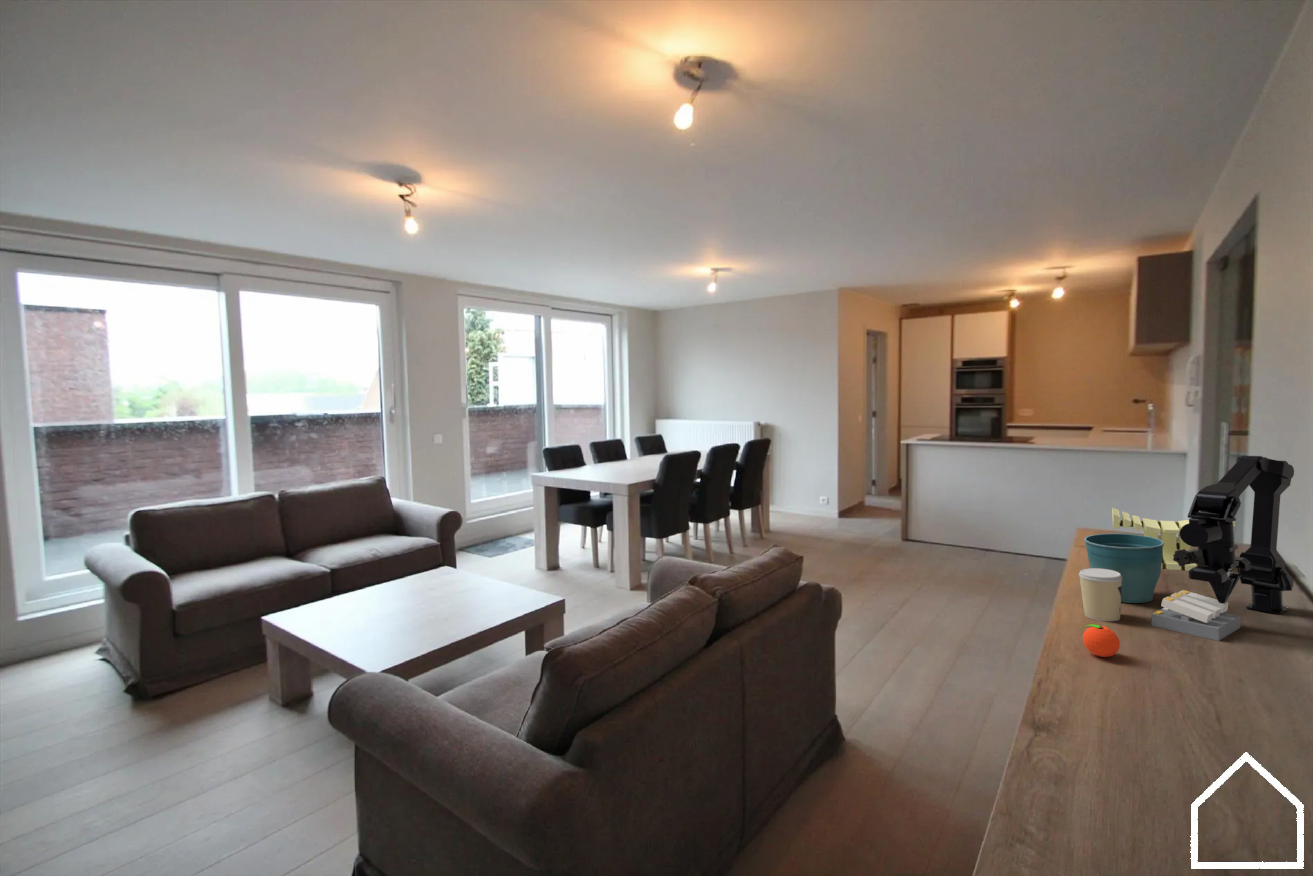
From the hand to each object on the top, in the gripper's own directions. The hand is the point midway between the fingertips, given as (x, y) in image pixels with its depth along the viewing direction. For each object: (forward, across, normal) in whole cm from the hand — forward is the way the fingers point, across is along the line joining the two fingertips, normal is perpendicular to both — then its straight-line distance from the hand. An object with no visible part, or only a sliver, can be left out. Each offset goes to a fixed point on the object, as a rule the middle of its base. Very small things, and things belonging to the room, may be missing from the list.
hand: (1222, 602), depth 147 cm
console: (+6, +4, -4) cm, 8 cm away
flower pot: (+6, -8, -24) cm, 26 cm away
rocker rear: (0, 0, -4) cm, 4 cm away
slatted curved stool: (+5, -54, -30) cm, 62 cm away
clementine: (+6, +38, -10) cm, 40 cm away
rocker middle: (0, +4, -4) cm, 6 cm away
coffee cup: (+6, +12, -21) cm, 25 cm away
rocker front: (0, +9, -4) cm, 10 cm away
